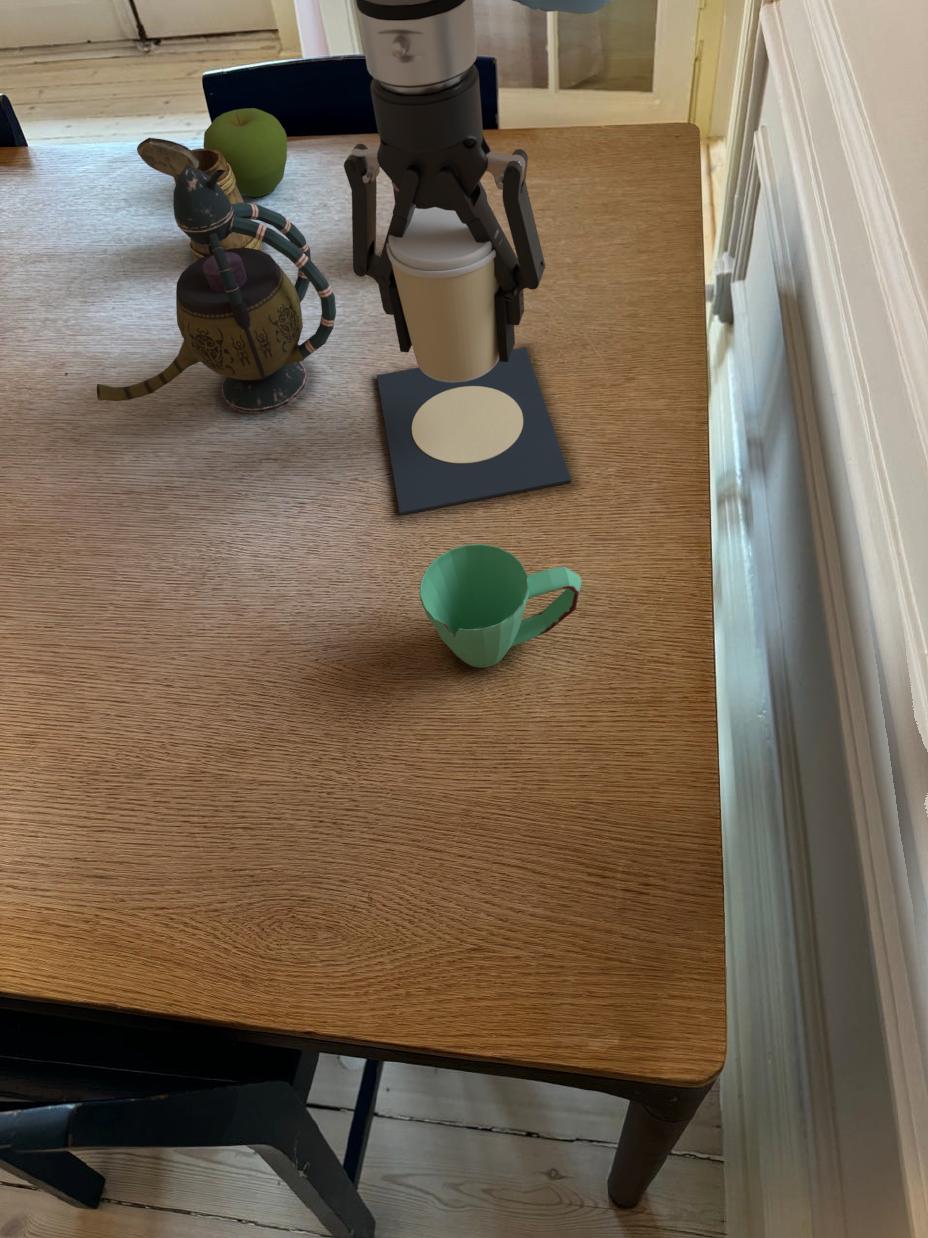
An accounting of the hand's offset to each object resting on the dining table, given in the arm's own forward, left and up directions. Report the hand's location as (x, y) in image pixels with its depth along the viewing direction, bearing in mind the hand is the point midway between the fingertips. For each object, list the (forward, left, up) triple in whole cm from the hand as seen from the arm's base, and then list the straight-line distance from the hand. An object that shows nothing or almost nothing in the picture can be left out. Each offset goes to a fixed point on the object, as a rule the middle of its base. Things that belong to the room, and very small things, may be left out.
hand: (457, 347), depth 76 cm
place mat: (0, 0, -9) cm, 9 cm away
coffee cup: (0, 0, -1) cm, 1 cm away
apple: (+57, 0, -10) cm, 58 cm away
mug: (-24, +10, -10) cm, 28 cm away
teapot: (+19, +18, -10) cm, 28 cm away
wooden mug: (+44, +10, -10) cm, 46 cm away
